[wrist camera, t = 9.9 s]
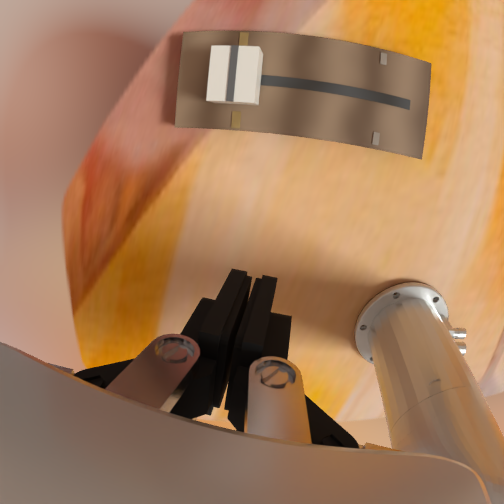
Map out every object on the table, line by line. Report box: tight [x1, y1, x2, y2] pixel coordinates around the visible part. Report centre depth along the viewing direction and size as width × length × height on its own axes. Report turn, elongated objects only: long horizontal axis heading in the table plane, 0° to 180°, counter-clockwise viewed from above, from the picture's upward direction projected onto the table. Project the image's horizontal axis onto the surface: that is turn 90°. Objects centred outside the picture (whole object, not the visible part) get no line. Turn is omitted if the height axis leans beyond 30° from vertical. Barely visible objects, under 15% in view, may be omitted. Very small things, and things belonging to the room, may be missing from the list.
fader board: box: [175, 31, 431, 159], centre depth 26 cm, size 24×10×2 cm, turn 85°
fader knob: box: [206, 45, 263, 105], centre depth 24 cm, size 4×5×3 cm
